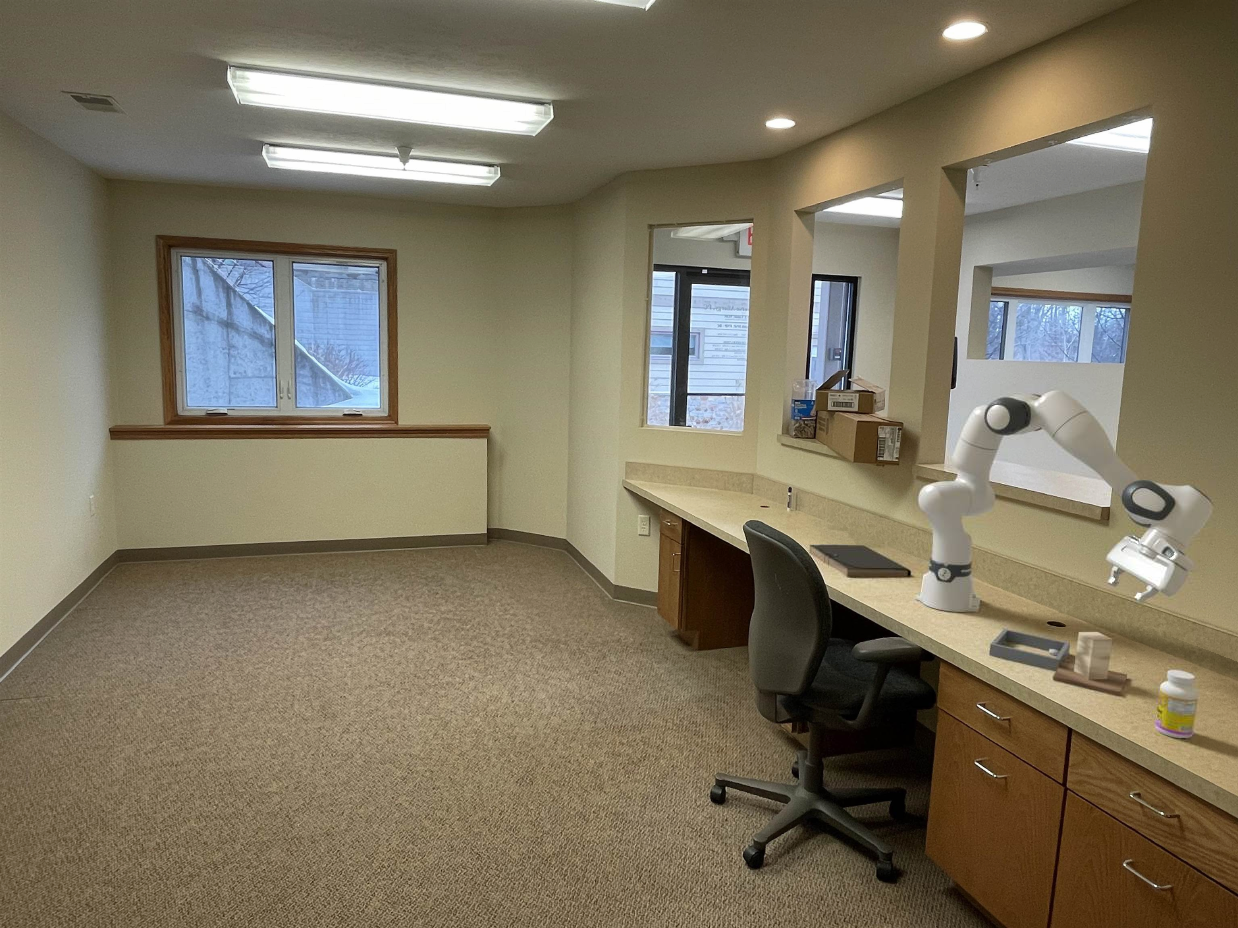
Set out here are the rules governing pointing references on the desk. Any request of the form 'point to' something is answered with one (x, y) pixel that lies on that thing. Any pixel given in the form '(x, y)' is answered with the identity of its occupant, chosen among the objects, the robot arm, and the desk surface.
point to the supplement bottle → (1177, 705)
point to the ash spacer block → (1093, 655)
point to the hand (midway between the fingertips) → (1124, 592)
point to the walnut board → (1108, 685)
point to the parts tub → (1043, 661)
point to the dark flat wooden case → (858, 561)
